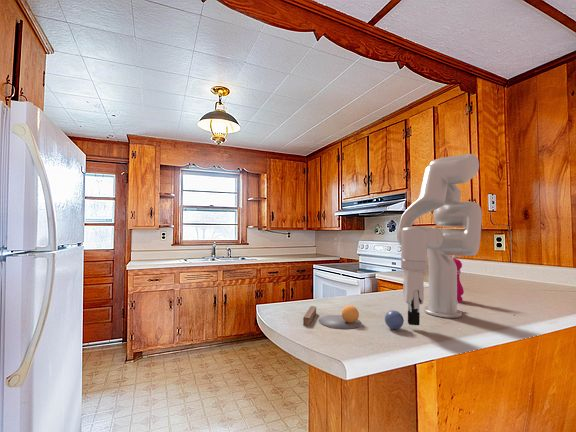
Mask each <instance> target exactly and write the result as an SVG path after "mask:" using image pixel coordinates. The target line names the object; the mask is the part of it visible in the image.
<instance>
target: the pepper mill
mask: <svg viewBox="0 0 576 432" xmlns="http://www.w3.org/2000/svg"><path fill="white" fill-rule="evenodd" d="M457 257H458V256H457V255H451V258H452V259H453V261H454V262H455V264H456V266H457V301H458V303H462V302H463V297H462V295H464V292H465V291H464V287H463V285H462V282H461V281H460V279H461V277H460V275H461V269H462V267H463V264H462V261H461V260H459V259H457Z"/></svg>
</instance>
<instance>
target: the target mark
mask: <svg viewBox="0 0 576 432" xmlns="http://www.w3.org/2000/svg"><path fill="white" fill-rule="evenodd" d="M318 323H319V324H321V325H322V326H324V327H326V328H331V329H337V330H350V329H357V328H359V327H361V326H362V322H361V320H359V319H358V320H357V321H356V322H354V323H348V322H346V321H345V320H344V319H343V318H342V314H329V315H328V314H327V315H325V316H324V315H323V316H321V317H320V318H318Z"/></svg>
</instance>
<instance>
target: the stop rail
mask: <svg viewBox="0 0 576 432" xmlns="http://www.w3.org/2000/svg"><path fill="white" fill-rule="evenodd" d="M316 315H317V306H313V305H311V306H310V307H309V308H308V310H307V311H306V312H305V314H304V315H303V317H302V319H303V321H302V324H303V326H307V327H310V325H311V323H312V321H313V320H314V318H315V316H316Z"/></svg>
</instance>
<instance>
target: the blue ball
mask: <svg viewBox="0 0 576 432" xmlns="http://www.w3.org/2000/svg"><path fill="white" fill-rule="evenodd" d="M384 322H385V325H386V326H387V327H388V328H390V329H391V330H399V329H400V328H402V327H403V325H404V317H403V315H402V313H400V312H399V311H397V310H389V311H387V312H386V314H385V316H384Z"/></svg>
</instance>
